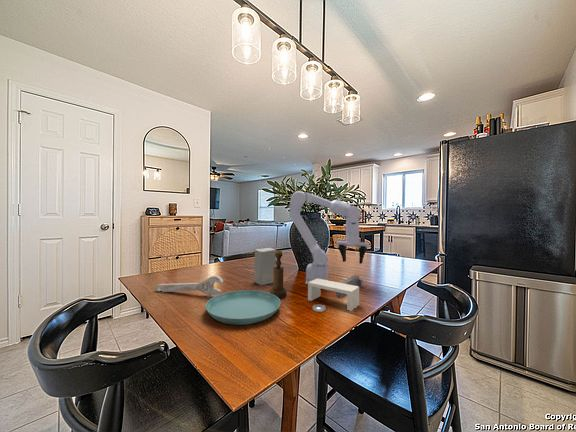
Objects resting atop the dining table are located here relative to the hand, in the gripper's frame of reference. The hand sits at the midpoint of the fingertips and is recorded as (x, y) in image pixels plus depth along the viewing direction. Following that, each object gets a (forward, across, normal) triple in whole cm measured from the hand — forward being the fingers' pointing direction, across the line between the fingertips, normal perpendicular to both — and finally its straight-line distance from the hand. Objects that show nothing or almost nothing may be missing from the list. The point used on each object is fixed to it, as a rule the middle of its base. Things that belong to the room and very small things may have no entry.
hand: (352, 262), depth 109 cm
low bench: (+10, +1, -25) cm, 27 cm away
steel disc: (+10, -1, -34) cm, 35 cm away
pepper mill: (+10, -20, -31) cm, 38 cm away
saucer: (+10, -21, -49) cm, 54 cm away
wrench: (+10, -50, -50) cm, 71 cm away
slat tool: (+10, +1, -8) cm, 13 cm away
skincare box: (+10, -35, -20) cm, 41 cm away
